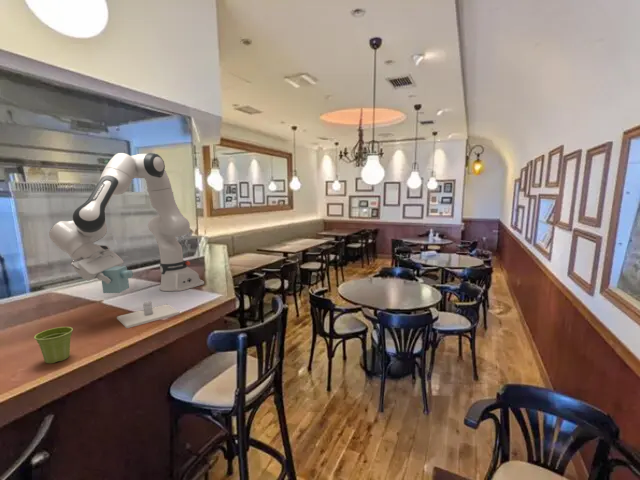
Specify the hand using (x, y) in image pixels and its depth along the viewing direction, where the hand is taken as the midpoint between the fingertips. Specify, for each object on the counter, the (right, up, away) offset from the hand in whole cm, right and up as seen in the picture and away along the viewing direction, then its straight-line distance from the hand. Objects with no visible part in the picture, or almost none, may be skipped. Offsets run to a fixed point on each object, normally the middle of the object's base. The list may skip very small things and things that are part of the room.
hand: (116, 279), depth 131 cm
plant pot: (-2, -22, -26) cm, 34 cm away
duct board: (+9, -16, +8) cm, 20 cm away
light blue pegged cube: (+1, -4, +1) cm, 5 cm away
